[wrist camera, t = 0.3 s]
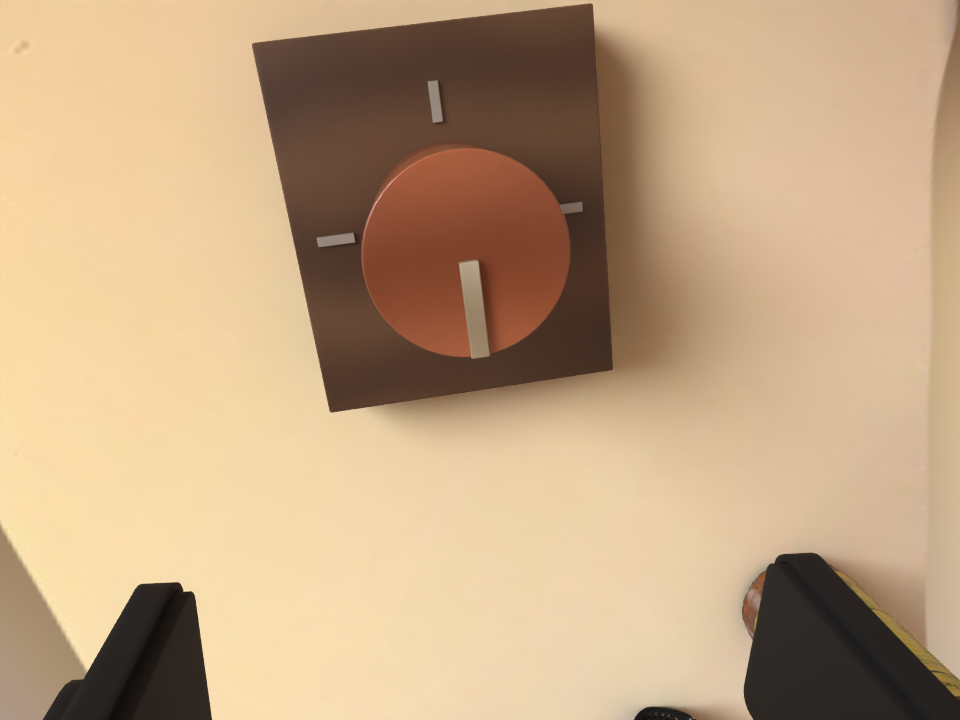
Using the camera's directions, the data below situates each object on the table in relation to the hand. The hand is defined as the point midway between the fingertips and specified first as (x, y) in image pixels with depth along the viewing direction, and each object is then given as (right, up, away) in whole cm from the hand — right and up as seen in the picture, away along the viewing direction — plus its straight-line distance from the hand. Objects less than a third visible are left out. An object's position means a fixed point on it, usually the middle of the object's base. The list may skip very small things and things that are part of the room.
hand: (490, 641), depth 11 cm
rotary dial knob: (-1, +10, +15) cm, 18 cm away
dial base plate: (-2, +11, +18) cm, 21 cm away
